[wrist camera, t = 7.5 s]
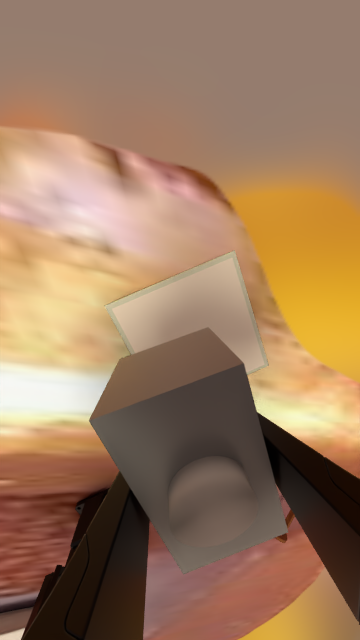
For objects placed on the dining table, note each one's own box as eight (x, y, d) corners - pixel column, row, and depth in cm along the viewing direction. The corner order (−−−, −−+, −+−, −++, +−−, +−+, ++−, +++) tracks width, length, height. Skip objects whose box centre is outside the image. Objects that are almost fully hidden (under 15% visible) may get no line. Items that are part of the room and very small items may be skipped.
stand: (255, 354, 22) (269, 366, 19) (162, 395, 21) (162, 413, 18) (223, 254, 18) (235, 250, 15) (112, 301, 18) (103, 306, 15)
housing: (208, 327, 9) (258, 377, 4) (244, 446, 11) (303, 561, 7) (120, 359, 9) (75, 446, 4) (175, 472, 11) (186, 608, 7)
